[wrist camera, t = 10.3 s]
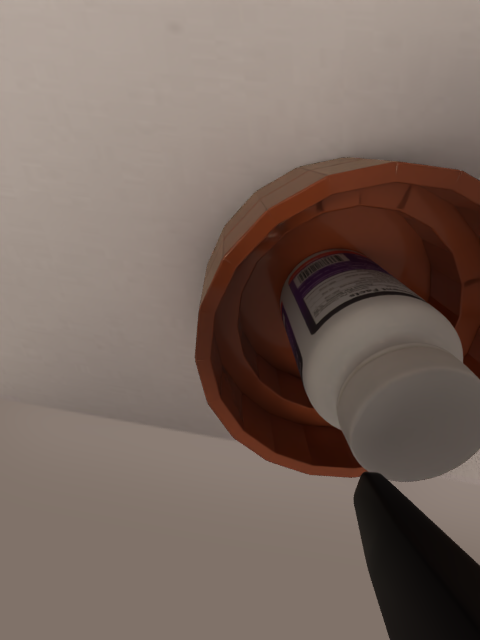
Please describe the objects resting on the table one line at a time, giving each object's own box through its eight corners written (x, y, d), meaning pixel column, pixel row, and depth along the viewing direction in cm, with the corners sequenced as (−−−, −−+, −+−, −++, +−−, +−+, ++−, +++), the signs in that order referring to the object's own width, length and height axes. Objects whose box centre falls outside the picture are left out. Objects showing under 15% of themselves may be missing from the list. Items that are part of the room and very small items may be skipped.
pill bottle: (360, 352, 20) (462, 511, 11) (266, 333, 19) (298, 486, 11) (401, 259, 18) (567, 367, 9) (296, 234, 17) (367, 325, 8)
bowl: (409, 404, 23) (466, 486, 17) (196, 386, 22) (185, 467, 16) (500, 178, 17) (627, 193, 12) (218, 139, 16) (213, 134, 10)
